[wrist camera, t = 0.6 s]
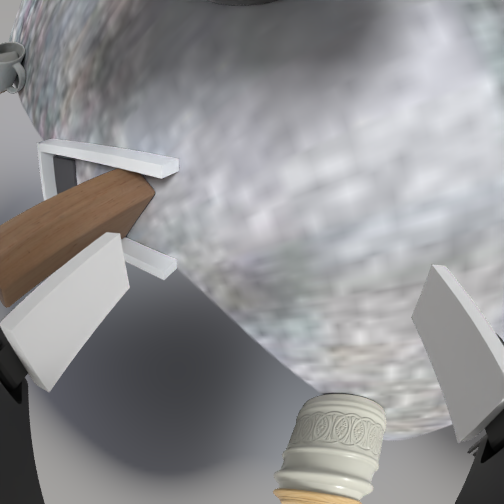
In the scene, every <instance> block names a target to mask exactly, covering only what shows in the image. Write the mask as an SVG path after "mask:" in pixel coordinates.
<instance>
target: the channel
mask: <svg viewBox="0 0 504 504" xmlns="http://www.w3.org/2000/svg"><path fill="white" fill-rule="evenodd" d="M37 151H38V161H39V170H40V178H41V185H42V192H43V198H44V201H45V200H47V199H49V198H51V197H53V196H55V195H57V194H59V193H61V192H64V191H66V190H68V189H70V188H72V187H74V186H77V181H76V170H75V160H70V159H66V158H61V157H56V156H55V154H56V155H61V156H66V157H71V158H76V159H81V160H85V161H90V162H95V163H99V164H103V165H108V166H112V167H116V168H121V169H125V170H129V171H133V172H137V173H141V174H145V175H149V176H153V177H157V178H161V179H162V178H164V177H166V176H169V175H171V174H173V173H176V172H178V171H179V159H178V158H173V157H168V156H163V155H158V154H153V153H148V152H142V151H137V150H131V149H125V148H119V147H113V146H106V145H99V144H92V143H85V142H77V141H69V140H60V139H47V140H44V141H42V142H39V143H37ZM121 243H122V249H123V255H124V260H125V261H126V262H128V263H130V264H132V265H134V266H136V267H138V268H140V269H142V270H144V271H146V272H148V273H150V274H152V275H154V276H156V277H158V278H161V279H163V280H165V279H166V278H167V277H168V276H169V275H170V274H171V273H172V272H173V271H174V270H176V269H177V259H175V258H172V257H170V256H168V255H165V254H163V253H161V252H158V251H156V250H154V249H151V248H149V247H147V246H144V245H142V244H140V243H138V242H135V241H133V240H131V239H128V238H126V237H124V238H123V239H121Z"/></svg>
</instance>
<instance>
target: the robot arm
mask: <svg viewBox="0 0 504 504" xmlns="http://www.w3.org/2000/svg"><path fill="white" fill-rule="evenodd" d="M207 1H210V2H214V3H218V4H225V5H254V4H262V3H268V2H273V1H277V0H207ZM129 288H130V286H129V281H128V276H127V271H126V265H125V260H124V255H123V249H122V243H121V236H120V233H109V232H106V233H105V234H103V235H102V236H101V237H99V238H98V239H97V240H95V241H94V242H93V243H91V244H90V245H89V246H87V247H86V248H85V249H83V250H82V251H81V252H79V253H78V254H77V255H76V256H74V257H73V258H72V259H71V260H69V261H68V262H67V263H66V264H64V265H63V266H62V267H61V268H59V269H58V270H57V271H56V272H55V273H54V274H52V275H51V276H50V277H49V278H48V279H46V280H45V281H44V282H43V283H42V284H41V285H40V286H38V287H37V288H36V289H34V290H33V291H32V292H31V293H30V294H29V295H28V296H27V297H26V298H25V299H23V300H22V302H20V304H18V305H17V306H16V307H15V308H14V309H13V310H12V311H11V312H10V313H9V314H8V315H7V316H6V317H5V318H4V319H3V320H2V321H1V322H0V504H45V503H44V500H43V496H42V492H41V488H40V484H39V480H38V475H37V470H36V466H35V460H34V453H33V447H32V439H31V431H30V419H29V402H28V383H27V380H26V379H25V376H26V375H27V374H29V375H30V377H31V378H32V379H33V381H34V382H35V384H36V385H38V386H40V387H41V388H43V389H45V390H46V391H48V392H50V391H51V389H52V388H53V386H54V384H55V383H56V382H57V381H58V379H59V377H60V376H61V375H62V373H63V372H64V371H65V369H66V368H67V367H68V365H69V363H70V362H71V361H72V360H73V358H74V357H75V356H76V354H77V353H78V352H79V350H80V349H81V348H82V346H83V345H84V344H85V342H86V341H87V340H88V338H89V337H90V336H91V335H92V333H93V332H94V331H95V329H96V328H97V327H98V326H99V324H100V323H101V322H102V321H103V319H104V318H105V317H106V316H107V314H108V313H109V312H110V311H111V309H112V308H113V307H114V306H115V305H116V303H117V302H118V301H119V300H120V299H121V297H122V296H123V295H124V294H125V293H126V291H127V290H128V289H129ZM411 318H412V320H413V322H414V324H415V326H416V329H417V331H418V333H419V335H420V337H421V340H422V342H423V344H424V347H425V349H426V351H427V354H428V356H429V359H430V361H431V364H432V366H433V369H434V371H435V374H436V376H437V379H438V382H439V384H440V387H441V390H442V393H443V396H444V399H445V401H446V404H447V407H448V411H449V414H450V417H451V420H452V423H453V427H454V430H455V434H456V437H457V441H458V443H460V442H464V441H467V440H470V439H473V438H475V436H477V435H478V434H479V433H480V432H481V431H482V430H483V429H485V430H486V433H487V434H486V435H485V436H484V437H483V438H481V439H480V440H479V441H478V442H477V443H476V444H474V446H472V447H471V448H470V449H469V451H468V453H471V452H472V451H473V450H475V449H476V448H477V447H479V448H478V450H477V451H476V452H475V453H474V454H473V456H475V459H474V462H473V464H472V467H471V469H470V472H469V474H468V476H467V479H466V481H465V483H464V486H463V488H462V490H461V492H460V494H459V496H458V498H457V500H456V502H455V504H504V342H503V340H502V339H501V338H500V337H499V336H498V335H497V334H496V333H495V332H494V330H493V328H492V327H491V325H490V324H489V323H488V321H487V320H486V318H485V317H484V315H483V314H482V312H481V311H480V310H479V308H478V307H477V305H476V304H475V303H474V301H473V300H472V299H471V297H470V296H469V295H468V293H467V292H466V291H465V290H464V288H463V287H462V286H461V284H460V283H459V282H458V281H457V279H456V278H455V277H454V276H453V275H452V273H451V272H450V271H449V270H448V269H447V267H446V266H441V265H431V268H430V271H429V274H428V277H427V279H426V282H425V285H424V288H423V290H422V293H421V295H420V298H419V300H418V303H417V305H416V308H415V310H414V312H413V315H412V317H411Z"/></svg>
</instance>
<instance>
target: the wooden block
mask: <svg viewBox="0 0 504 504" xmlns="http://www.w3.org/2000/svg"><path fill="white" fill-rule="evenodd" d="M154 194H155V191H154V189H153V188H152V187H151V186H150V184H149V183H148V182H147V181H146V180H145V178H144V177H143V176H142V175H141V173H137V172H133V171H129V170H125V169H121V168H117V169H115V170H112V171H110V172H107V173H105V174H102V175H100V176H97V177H95V178H93V179H90V180H88V181H86V182H83V183H81V184H79V185H77V186H74V187H72V188H70V189H68V190H66V191H64V192H61V193H59V194H57V195H55V196H53V197H51V198H49V199H47V200H45V201H43V202H41V203H39V204H38V205H36V206H34V207H32V208H30V209H28V210H26V211H25V212H23V213H21V214H19V215H17V216H16V217H14V218H12V219H10V220H9V221H7V222H5V223H4V224H2V225H1V226H0V300H1V302H2V304H3V305H4V306H5V307H10V306H11V305H12V304H13V303H15V302H16V301H17V300H18V299H20V298H21V297H22V296H23V295H24V294H26V293H27V292H28V291H30V290H31V289H32V288H33V287H35V286H36V285H37V284H39V283H40V282H41V281H43V280H44V279H45V278H46V277H48V276H49V275H51V274H52V273H53V272H55V271H56V270H58V269H59V268H60V267H62V266H63V265H64V264H66V263H67V262H68V261H69V260H71V259H72V258H73V257H74V256H76V255H77V254H78V253H79V252H81V251H82V250H83V249H85V248H86V247H87V246H89V245H90V244H91V243H93V242H94V241H95V240H97V239H98V238H99V237H101V236H102V235H103V234H105V233H106V232H109V233H120V236H121V239H123V238H124V237H126V235H127V234H128V232H129V231H130V229H131V228H132V226H133V225H134V223H135V222H136V220H137V219H138V217H139V216H140V214H141V213H142V211H143V210H144V209H145V207H146V206H147V204H148V203H149V202H150V200H151V199H152V197H153V196H154Z"/></svg>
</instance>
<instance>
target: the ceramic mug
mask: <svg viewBox="0 0 504 504" xmlns="http://www.w3.org/2000/svg"><path fill="white" fill-rule="evenodd" d="M24 54H25V48H24V46H23V45H22V44H20V43H17V42H5V43H2V44H0V93H2V92H5V91H8V92H9V93H13V94H14V93H16V92H18V91H20V90H21V89H22V88H23V86H24V84H25V81H26V74H25V70H24V68H23V66H22V65H21V62H22V59H23V57H24ZM17 74H18V76H19V86H18V88H17V89H16V88H14V87H13V86H12V85H13V83H14V81H15V79H16V76H17Z"/></svg>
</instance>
